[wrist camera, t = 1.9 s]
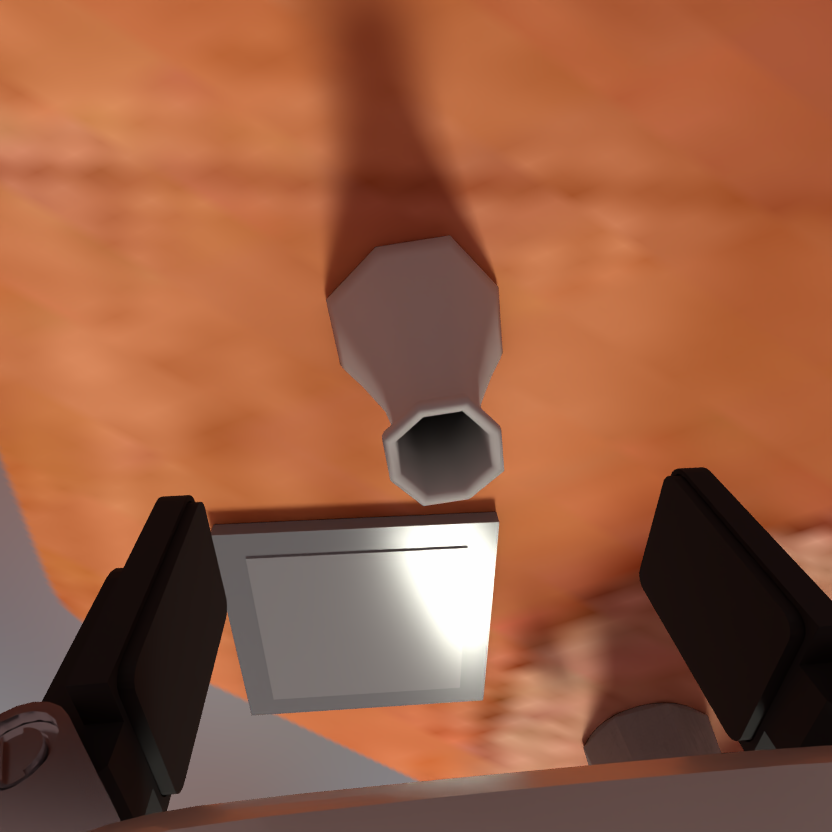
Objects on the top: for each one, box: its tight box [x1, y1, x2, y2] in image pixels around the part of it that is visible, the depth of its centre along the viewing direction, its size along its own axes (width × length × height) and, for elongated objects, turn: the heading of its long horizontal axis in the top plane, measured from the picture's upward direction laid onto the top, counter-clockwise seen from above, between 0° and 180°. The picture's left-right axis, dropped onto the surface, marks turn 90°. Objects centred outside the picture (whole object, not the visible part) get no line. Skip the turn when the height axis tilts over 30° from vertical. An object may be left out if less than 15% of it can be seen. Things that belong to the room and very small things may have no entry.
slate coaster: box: [211, 512, 499, 715], centre depth 31 cm, size 14×14×1 cm
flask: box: [326, 235, 504, 506], centre depth 19 cm, size 7×7×10 cm
